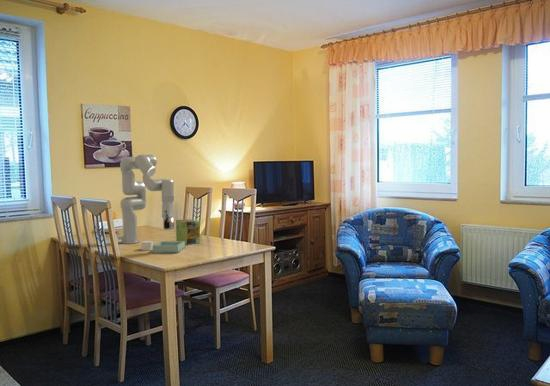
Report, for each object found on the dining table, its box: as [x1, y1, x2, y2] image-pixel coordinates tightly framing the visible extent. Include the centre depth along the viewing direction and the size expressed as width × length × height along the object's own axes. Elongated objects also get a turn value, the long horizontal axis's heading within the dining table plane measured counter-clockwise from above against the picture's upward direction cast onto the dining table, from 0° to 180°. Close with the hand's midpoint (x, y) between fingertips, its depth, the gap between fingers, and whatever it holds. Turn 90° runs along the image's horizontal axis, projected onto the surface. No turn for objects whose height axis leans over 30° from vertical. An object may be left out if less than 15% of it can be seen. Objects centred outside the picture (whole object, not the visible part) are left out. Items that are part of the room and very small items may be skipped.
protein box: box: [175, 218, 201, 246], centre depth 324 cm, size 10×15×16 cm
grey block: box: [140, 240, 155, 251], centre depth 302 cm, size 6×6×5 cm
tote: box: [152, 240, 186, 254], centre depth 297 cm, size 16×16×4 cm
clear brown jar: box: [162, 216, 175, 231], centre depth 296 cm, size 6×6×7 cm
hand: (168, 227), depth 296 cm, fingers closed on clear brown jar, 6 cm apart
